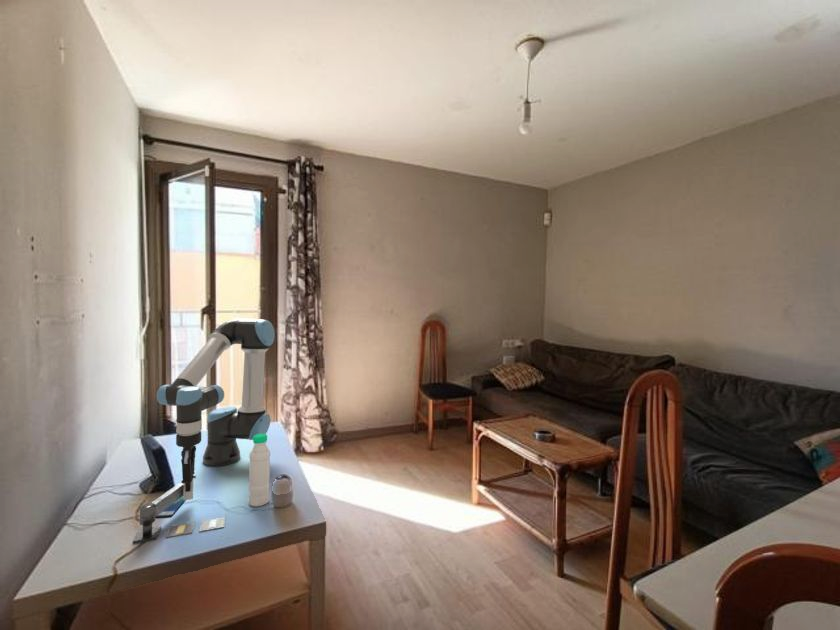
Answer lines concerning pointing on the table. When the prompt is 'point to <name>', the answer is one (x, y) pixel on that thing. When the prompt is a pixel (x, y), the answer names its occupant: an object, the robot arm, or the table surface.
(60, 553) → the table surface
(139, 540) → the dark grey square block
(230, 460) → the robot arm
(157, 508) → the rail
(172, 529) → the label plate ochre
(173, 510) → the smartphone
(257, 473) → the water bottle
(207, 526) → the label plate dark grey
